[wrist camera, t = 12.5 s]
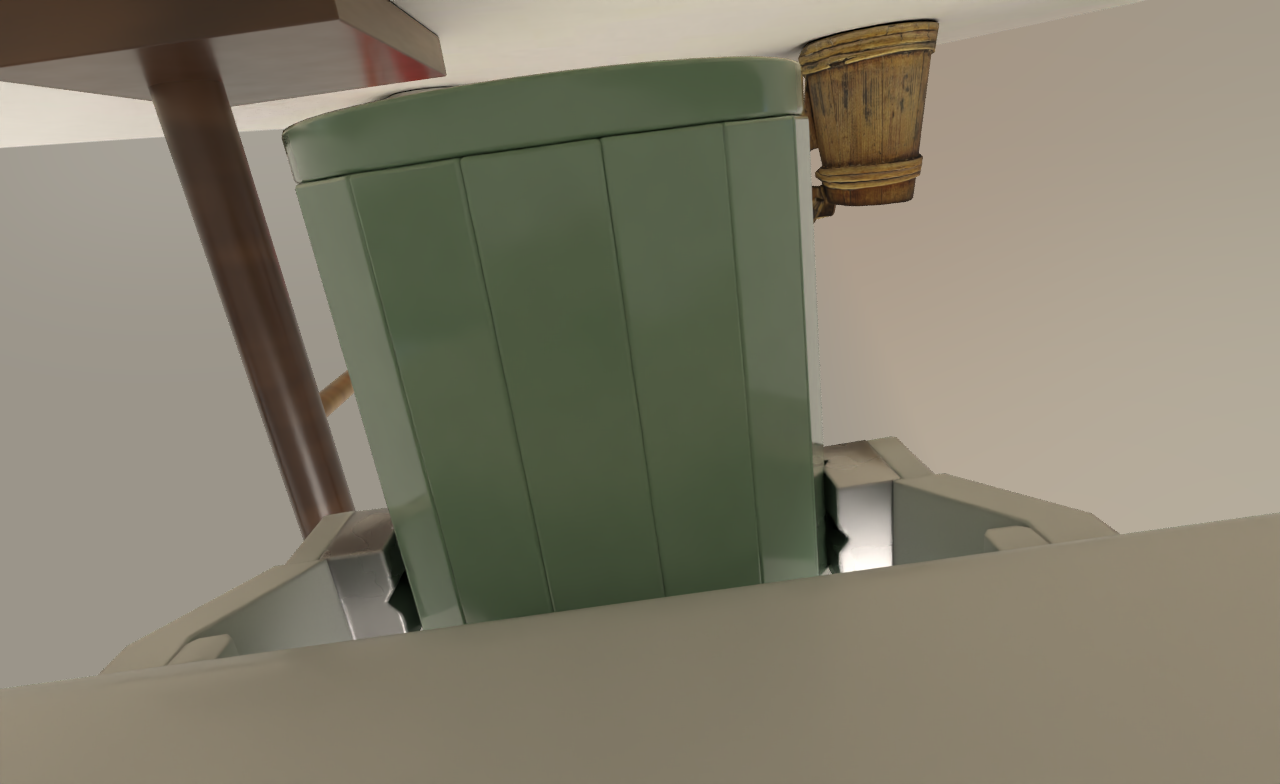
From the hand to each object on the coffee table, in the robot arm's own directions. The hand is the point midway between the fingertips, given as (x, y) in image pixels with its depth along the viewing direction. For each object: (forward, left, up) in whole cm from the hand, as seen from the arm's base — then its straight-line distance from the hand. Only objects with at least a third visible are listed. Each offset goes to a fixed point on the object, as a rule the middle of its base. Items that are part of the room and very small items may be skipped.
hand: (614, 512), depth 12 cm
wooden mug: (-17, +42, -12) cm, 46 cm away
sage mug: (0, +2, -7) cm, 7 cm away
